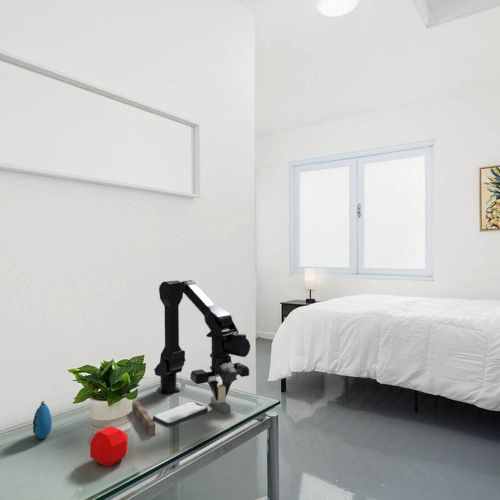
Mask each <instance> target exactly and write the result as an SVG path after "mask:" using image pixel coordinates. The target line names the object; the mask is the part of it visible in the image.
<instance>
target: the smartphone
mask: <svg viewBox="0 0 500 500" xmlns="http://www.w3.org/2000/svg"><path fill="white" fill-rule="evenodd" d="M208 411H209V408H208V407H207V406H205V405H203V404H200V403H197V402H196V401H188V402H185V403H184V404H181V405H178V406H175V407H172V408H170V409H167V410H164V411H162V412H160V413H156V414H154V415H153V416H152V420H153V421H154V422H158V423H159V424H161V425H163V426H165V427H173V426H175V425H177V424H178V425H179V424H181V423H182V422H185V421H188V420H190V419H193V418H195V417H196V418H197V417H198V416H200V415H203V414H206V413H208Z"/></svg>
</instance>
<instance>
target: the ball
mask: <svg viewBox="0 0 500 500" xmlns="http://www.w3.org/2000/svg"><path fill="white" fill-rule="evenodd" d="M128 436H129V435H128V434H126V432H125V431H122V430H121V429H119V428H117V427H116V426H113V425H110V426H108V427H105V428H103V429H100V430H98V431H96V433H95V434H94V435H93V437H92V438H91V440H90V443H89V446H90V447H89V451H90V453H89V454H90V456H89V457H90V458H91V459H93V460H94V461H96V462H97V463H99V464H100V465H103V466H105V467H106V466H107V468H108V467H110V466H112V464H113V465H114V463H115V464H117V463H119V462H121V461H122V460H123V459H124V458H125V456H126V455H127V453H128V450H129V447H128V444H129V441H128V440H129V439H128V438H129V437H128Z"/></svg>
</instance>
